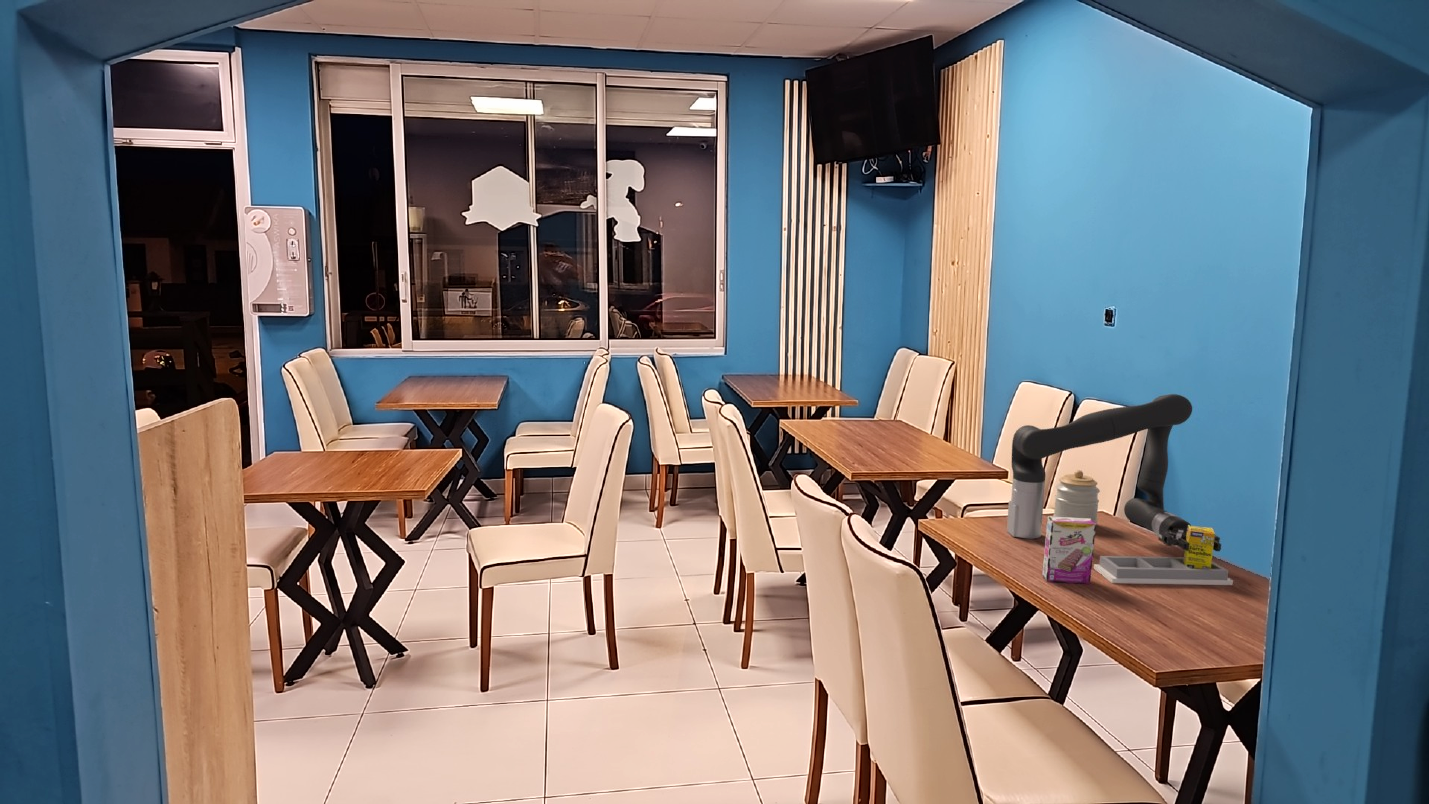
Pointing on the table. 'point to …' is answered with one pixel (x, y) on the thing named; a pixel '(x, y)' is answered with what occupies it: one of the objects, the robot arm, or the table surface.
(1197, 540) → the supplement box
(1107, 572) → the rack
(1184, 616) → the table surface
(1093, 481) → the jar
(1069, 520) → the candy bar box
